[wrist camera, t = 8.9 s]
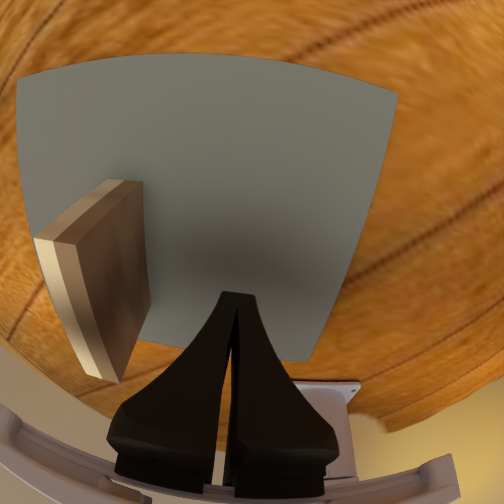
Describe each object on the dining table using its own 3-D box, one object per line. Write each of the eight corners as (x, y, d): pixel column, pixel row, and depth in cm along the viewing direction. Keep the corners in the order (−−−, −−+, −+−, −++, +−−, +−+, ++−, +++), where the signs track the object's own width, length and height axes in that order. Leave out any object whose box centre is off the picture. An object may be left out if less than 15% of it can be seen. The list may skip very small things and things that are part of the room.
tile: (151, 305, 17) (119, 384, 12) (123, 299, 17) (86, 373, 11) (142, 181, 12) (75, 244, 7) (107, 179, 12) (33, 238, 7)
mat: (307, 357, 20) (307, 361, 19) (60, 314, 19) (58, 318, 18) (394, 93, 10) (398, 93, 10) (21, 78, 9) (17, 79, 9)
